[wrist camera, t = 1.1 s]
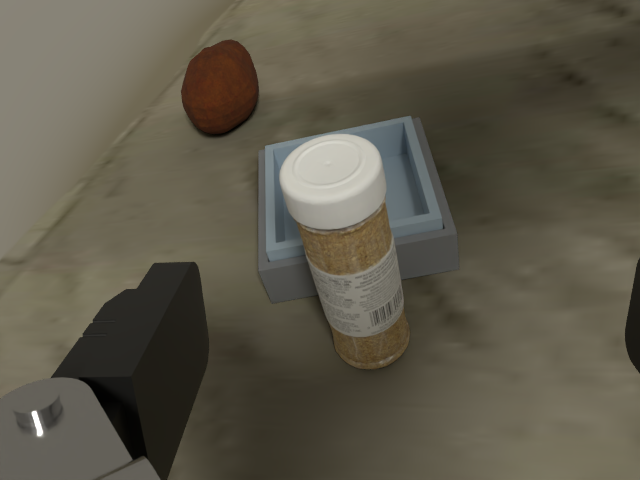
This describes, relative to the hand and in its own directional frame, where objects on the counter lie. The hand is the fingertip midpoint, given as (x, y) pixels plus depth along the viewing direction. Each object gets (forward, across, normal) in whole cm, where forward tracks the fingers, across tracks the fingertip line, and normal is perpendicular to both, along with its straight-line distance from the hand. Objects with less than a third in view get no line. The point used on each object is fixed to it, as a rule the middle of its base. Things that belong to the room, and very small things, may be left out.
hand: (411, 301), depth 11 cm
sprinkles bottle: (+20, 0, +14) cm, 25 cm away
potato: (+44, +12, +6) cm, 46 cm away
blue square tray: (+30, +1, +10) cm, 31 cm away
